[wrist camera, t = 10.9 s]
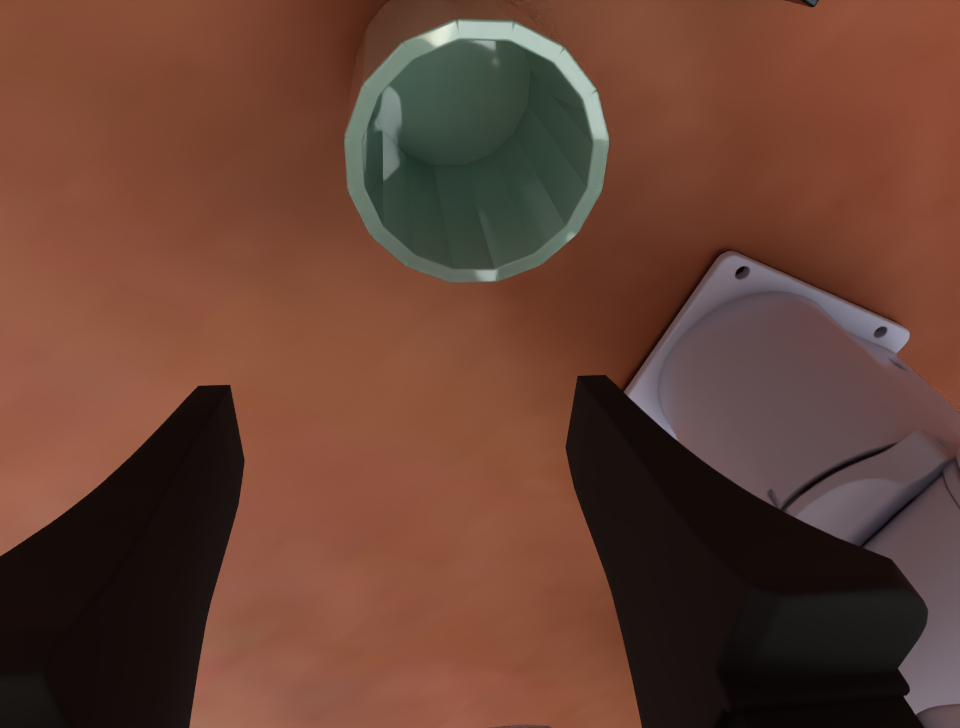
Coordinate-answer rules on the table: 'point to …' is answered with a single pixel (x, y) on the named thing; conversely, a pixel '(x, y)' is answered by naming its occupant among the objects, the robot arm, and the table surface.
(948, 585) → the robot arm
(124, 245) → the table surface
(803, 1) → the chute rails
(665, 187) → the table surface
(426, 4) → the cup
